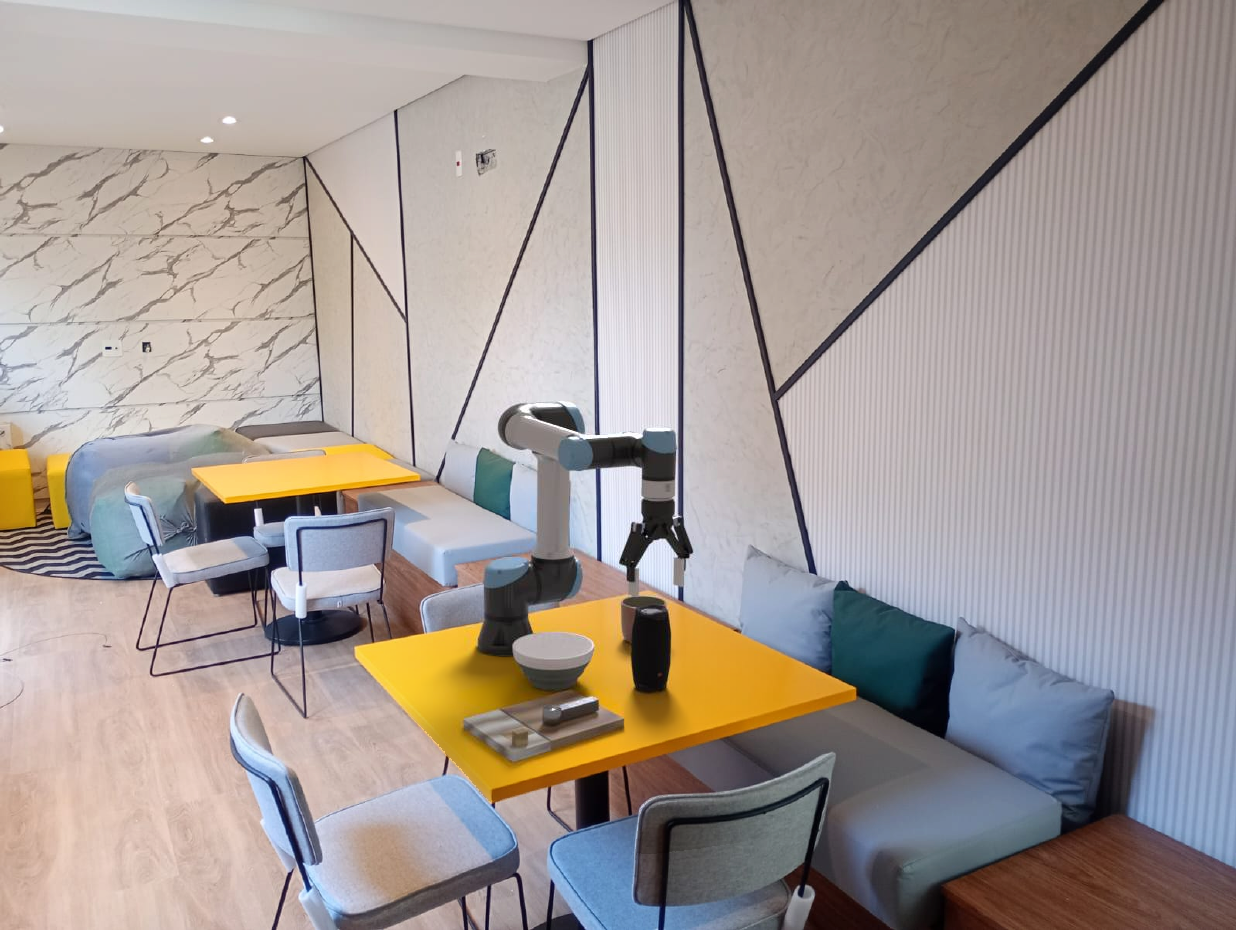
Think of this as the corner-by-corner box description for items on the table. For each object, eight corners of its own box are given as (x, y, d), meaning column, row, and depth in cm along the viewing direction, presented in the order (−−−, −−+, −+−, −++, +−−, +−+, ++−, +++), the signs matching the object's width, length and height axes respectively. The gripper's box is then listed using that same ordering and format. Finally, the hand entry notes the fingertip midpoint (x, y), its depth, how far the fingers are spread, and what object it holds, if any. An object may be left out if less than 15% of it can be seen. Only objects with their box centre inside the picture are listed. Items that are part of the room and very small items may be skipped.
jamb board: (463, 727, 207) (462, 706, 206) (570, 697, 224) (570, 677, 223) (512, 762, 191) (512, 739, 190) (624, 727, 208) (624, 706, 207)
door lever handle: (549, 727, 202) (549, 714, 201) (538, 720, 205) (538, 708, 205) (600, 711, 210) (601, 699, 210) (590, 705, 213) (590, 693, 213)
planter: (673, 638, 266) (674, 600, 264) (651, 651, 255) (651, 611, 254) (635, 630, 272) (636, 592, 271) (611, 642, 262) (612, 603, 260)
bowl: (527, 703, 220) (527, 663, 218) (502, 674, 238) (502, 636, 236) (606, 691, 228) (607, 652, 226) (576, 663, 245) (576, 627, 244)
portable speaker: (671, 694, 227) (674, 613, 224) (632, 694, 226) (633, 614, 223) (667, 680, 235) (669, 602, 232) (628, 680, 234) (630, 603, 231)
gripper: (626, 506, 205) (624, 603, 208) (710, 494, 220) (707, 585, 223) (603, 501, 210) (602, 596, 213) (687, 489, 226) (685, 578, 229)
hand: (656, 590), depth 218 cm, fingers open, 13 cm apart
